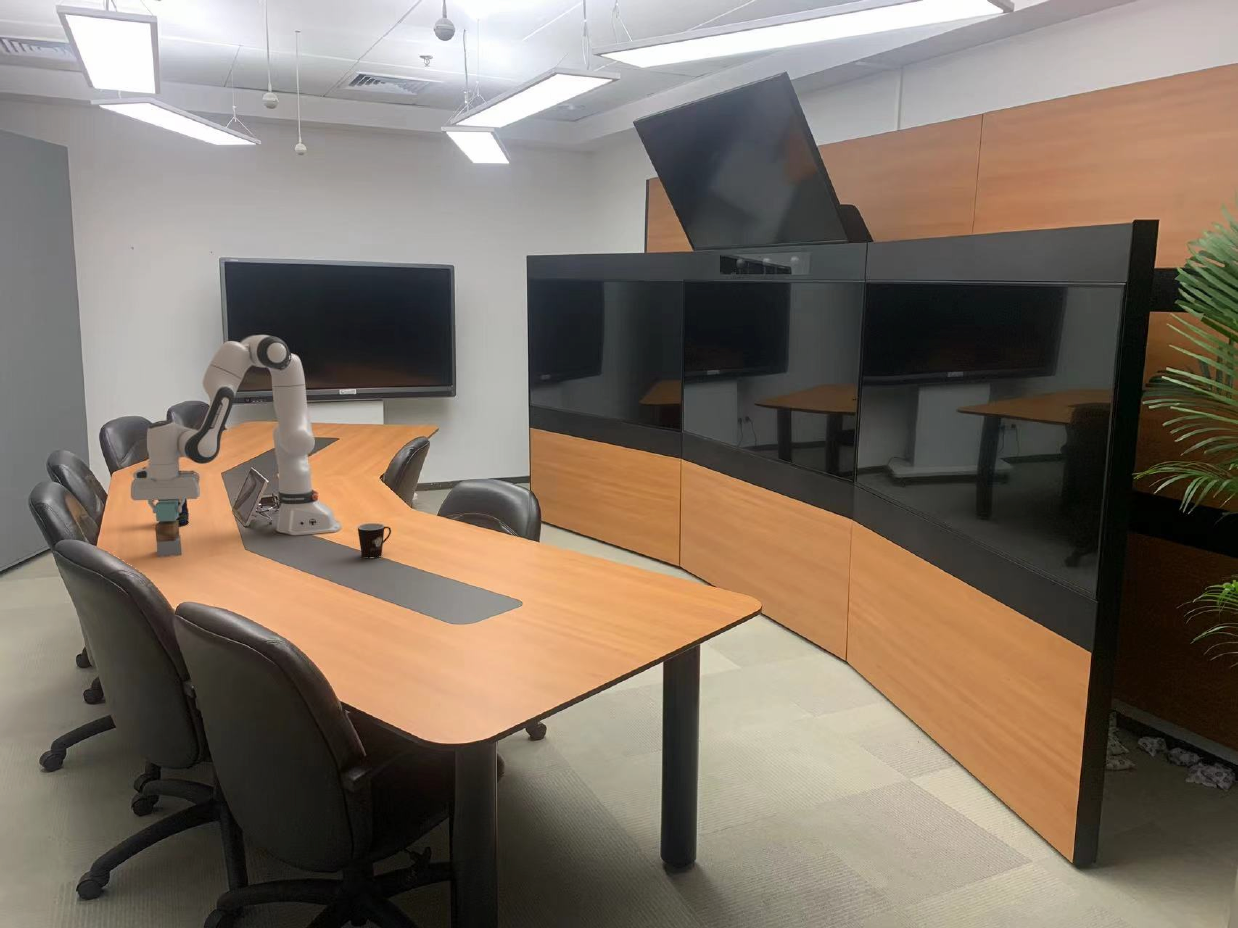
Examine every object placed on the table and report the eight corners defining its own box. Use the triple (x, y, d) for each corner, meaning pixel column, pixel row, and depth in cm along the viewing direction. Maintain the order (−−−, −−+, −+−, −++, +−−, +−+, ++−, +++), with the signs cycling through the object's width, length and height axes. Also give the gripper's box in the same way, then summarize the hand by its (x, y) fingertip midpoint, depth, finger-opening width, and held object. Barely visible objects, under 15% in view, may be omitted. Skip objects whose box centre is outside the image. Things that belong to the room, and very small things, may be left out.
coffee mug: (361, 560, 293) (360, 531, 292) (355, 553, 301) (355, 524, 299) (397, 556, 299) (396, 527, 297) (390, 549, 306) (390, 521, 304)
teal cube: (179, 516, 297) (177, 500, 296) (174, 520, 292) (173, 504, 291) (160, 516, 296) (159, 500, 295) (156, 521, 291) (155, 504, 290)
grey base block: (181, 549, 301) (180, 535, 300) (181, 555, 294) (180, 540, 293) (157, 551, 297) (156, 537, 296) (157, 557, 291) (156, 542, 290)
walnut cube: (179, 536, 298) (178, 520, 297) (174, 540, 293) (173, 524, 292) (161, 536, 297) (160, 520, 296) (156, 541, 292) (155, 524, 291)
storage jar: (153, 525, 327) (150, 485, 324) (174, 519, 336) (171, 480, 333) (174, 529, 324) (171, 488, 321) (195, 522, 333) (192, 483, 330)
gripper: (201, 468, 296) (203, 509, 299) (133, 469, 292) (136, 511, 294) (196, 472, 290) (199, 513, 293) (127, 473, 286) (130, 515, 288)
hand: (167, 512), depth 294 cm, fingers closed on teal cube, 5 cm apart
